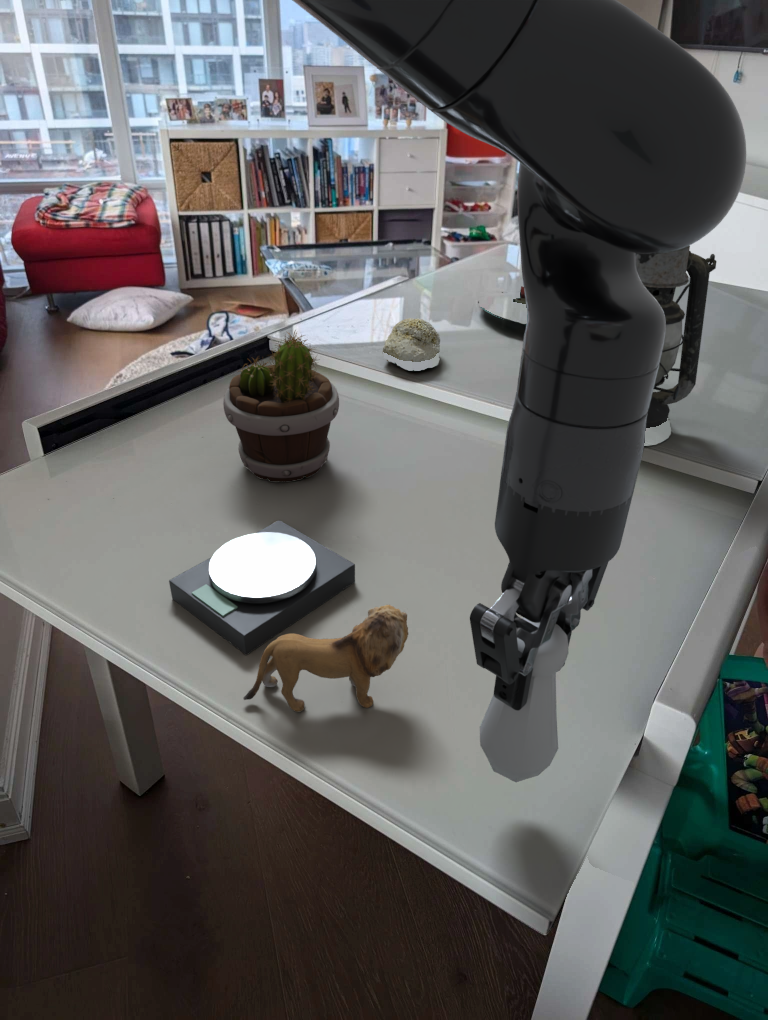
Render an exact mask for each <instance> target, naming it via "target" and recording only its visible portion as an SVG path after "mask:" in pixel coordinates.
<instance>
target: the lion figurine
mask: <svg viewBox="0 0 768 1020" xmlns="http://www.w3.org/2000/svg"><path fill="white" fill-rule="evenodd" d="M408 637H409V627H408V614H407V612H404V611H401V609H400V608H396V607H394V606H392V605H391V604H385V605H380V606H374V607H372V608H368V611H367V616H366V617H365V618H364V620H363V621H362V622H360V623H359V624H356V625H355V626H354V627H353V628H352V631H351V632H350V633H348V634H347V635H345V636H343V637H337V638H311V637H308V636H305V635H302V634H298V633H285V634H282V635H280V636H278V637H276V639H274V640H273V641H271V642H270V643H269V644H267V646H266V647H265V649H264V651H263V653H262V655H261V658H260V661H259V665H258V670H257V674H256V675H257V676H256V680H255V682H254V685H253V686H252V688H251V689H250V690H249V691H248V692H247V693H246V695H244V696H243V700H244V701H247V700H248V701H249V700H252V699H253V698H254V697H256V695H257V693H258V691H259V689H260V687H261V685H262V684H263V685H264V687H267V688H274V687H276V686H277V685H278V683H279V682H278V678H276V676H273V675H272V674H273V673H275V672H276V671H277V673H278V676H279V677H280V680H281V682H282V686H281V690H280V692H281V695H282V696H283V698H284V699H285V700H286V702H287V704H288V706H289V708H290V709H291V710H292V711H294V712H295V713H300V712H303V711H304V710H305V707H306V705H305V701H304V700H303V699H302V698H301V699H300V698H296V697H295V696H294V688H295V687H296V684H297V683H298V681H299V678H300V672H301V671H306V672H308V673H310V674H312V675H313V676H314V675H315V676H317V677H318V678H324V679H334V680H335V679H336V680H337V679H343V678H348V681H349V682H350V684H351V685H352V686H354V687H355V692H356V693H355V696H356V699H357V701H358V703H359V705H360V706H361V707H363V708H366V709H369V708H371V707H373V704H374V698H373V696H372V695H368V692H369V691H370V690H369V689H370V685H371V678H375V677H379V676H381V675H382V674H383V673H384V672H386V671H389V670H390V669H391V668H392V666H393V665H394V664H395V661H396V660H397V658H398V656H399V655H400V654H401V653H402V652H403V651H404V648H405V643H406V642H407V640H408Z"/></svg>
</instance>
